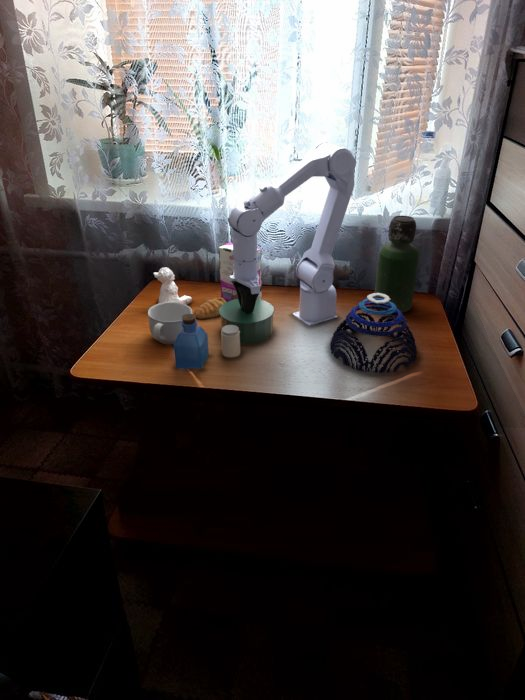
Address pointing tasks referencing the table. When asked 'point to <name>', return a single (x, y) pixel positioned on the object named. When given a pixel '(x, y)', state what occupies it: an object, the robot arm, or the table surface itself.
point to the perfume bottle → (191, 344)
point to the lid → (238, 316)
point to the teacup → (167, 320)
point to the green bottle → (398, 264)
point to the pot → (252, 330)
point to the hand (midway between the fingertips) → (246, 308)
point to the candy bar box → (227, 270)
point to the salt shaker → (230, 341)
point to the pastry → (209, 308)
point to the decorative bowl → (361, 320)
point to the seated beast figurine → (169, 288)
